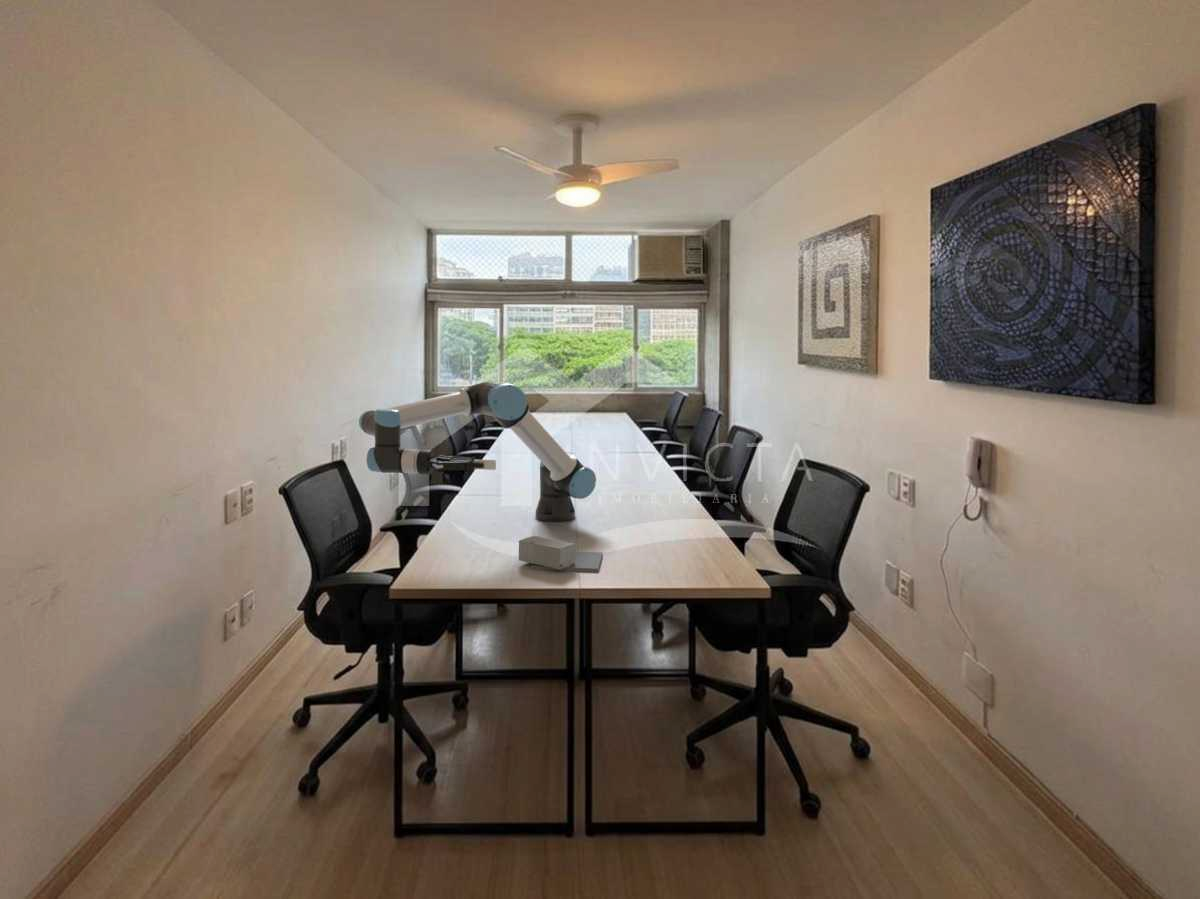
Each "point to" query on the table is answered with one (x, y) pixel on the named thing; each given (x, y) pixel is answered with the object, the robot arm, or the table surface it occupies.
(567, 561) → the skincare box
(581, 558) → the slate mat
